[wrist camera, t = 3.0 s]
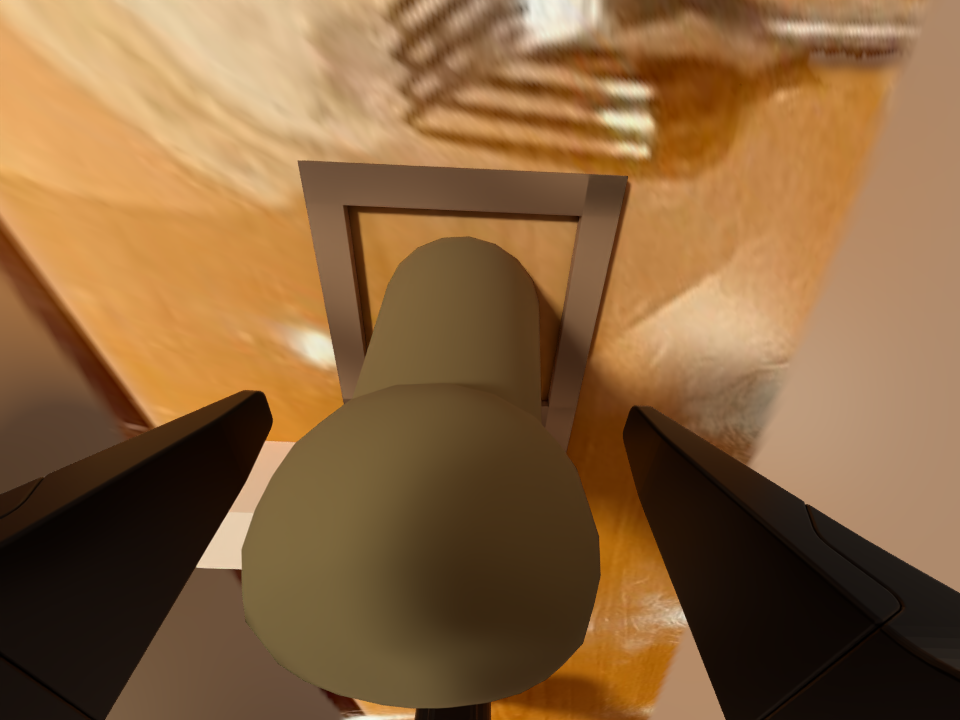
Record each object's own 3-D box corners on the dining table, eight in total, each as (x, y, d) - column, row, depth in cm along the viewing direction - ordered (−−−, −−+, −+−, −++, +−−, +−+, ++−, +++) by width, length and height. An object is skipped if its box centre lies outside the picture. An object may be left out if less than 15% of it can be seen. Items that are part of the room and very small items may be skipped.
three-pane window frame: (527, 616, 25) (528, 622, 25) (386, 611, 25) (384, 618, 25) (623, 175, 11) (627, 176, 11) (303, 160, 11) (297, 160, 11)
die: (322, 496, 19) (286, 572, 16) (248, 493, 19) (195, 569, 16) (307, 441, 17) (262, 514, 14) (225, 438, 17) (158, 511, 14)
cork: (554, 246, 12) (797, 547, 3) (524, 387, 15) (592, 763, 6) (381, 226, 12) (-9, 484, 2) (385, 373, 15) (216, 746, 5)
